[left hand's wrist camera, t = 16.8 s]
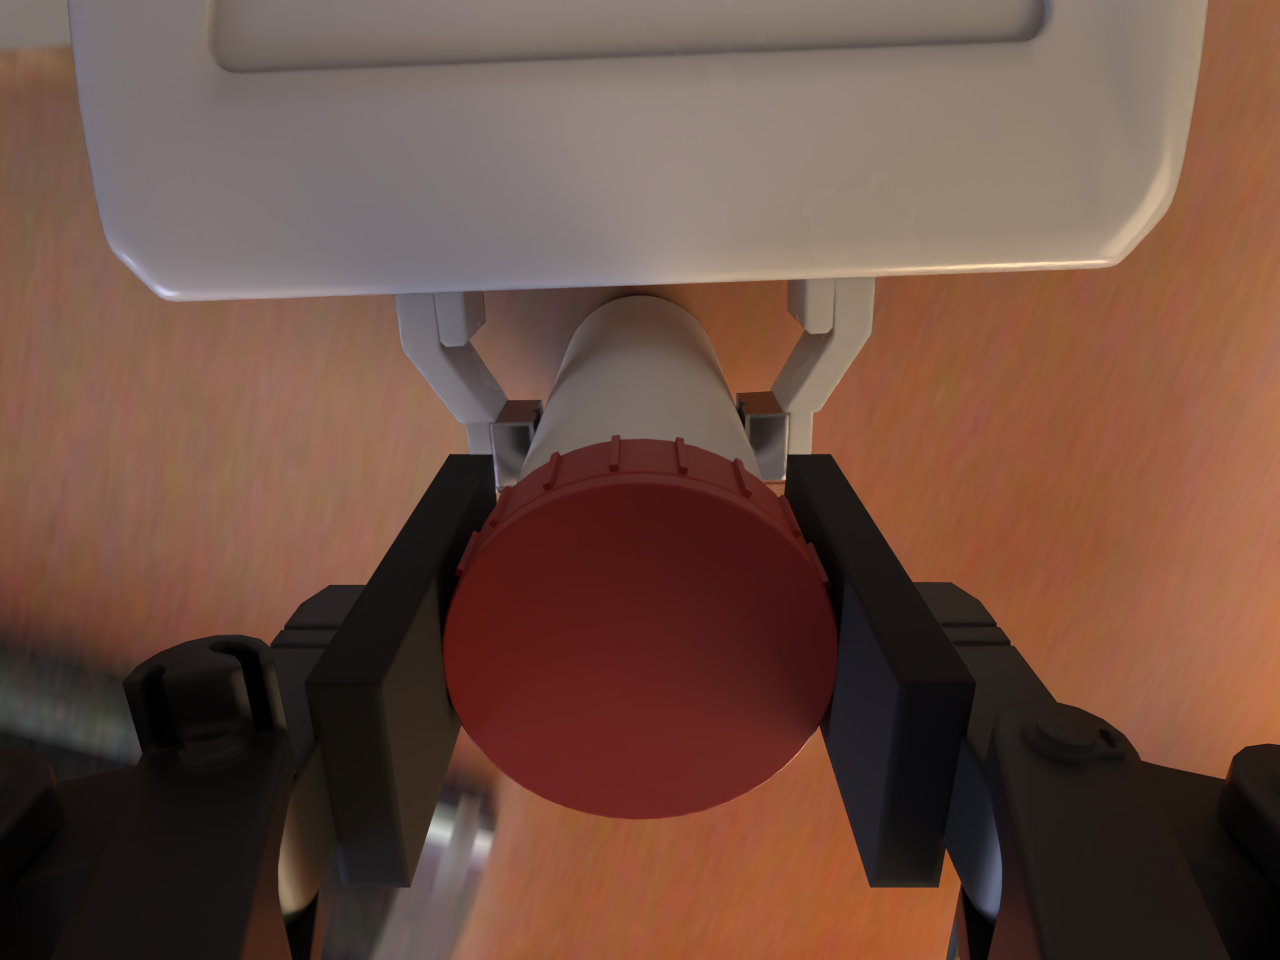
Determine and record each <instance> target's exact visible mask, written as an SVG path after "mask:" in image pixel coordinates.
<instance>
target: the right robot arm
mask: <svg viewBox="0 0 1280 960" xmlns="http://www.w3.org/2000/svg"><path fill="white" fill-rule="evenodd" d="M67 4H68V14H69V25H70V35H71V45H72V54H73V63H74V71H75V80H76V86H77V93H78V100H79V106H80V113H81V120H82V126H83V133H84V139H85V144H86V150H87V156H88V161H89V167H90V173H91V178H92V182H93V187H94V192H95V197H96V202H97V207H98V212H99V215H100V219H101V223H102V226H103V230H104V234H105V237H106V239H107V242H108V244H109V247H110V248H111V250H112V252H113V253H114V255H115V256H116V257H117V258H118V259H119V260H120V261H121V262H122V263H123V264H124V265H125V266H126V267H127V268H128V269H129V270H130V271H131V272H132V273H133V274H134V275H135V276H136V277H138V278H139V279H140V280H141V281H142V282H143V283H144V284H145V285H146V286H147V287H148V288H149V289H150V290H151V291H153V292H154V293H155V294H156V295H157V296H158V297H160V298H162V299H164V300H167V301H172V302H190V301H218V300H245V299H273V298H300V297H328V296H355V295H383V294H394V298H395V304H396V311H397V318H398V325H399V332H400V338H401V345H402V350H403V351H404V352H405V354H406V355H407V356H408V357H409V359H410V360H411V361H412V363H413V364H414V365H415V366H416V368H417V369H418V370H419V372H420V373H421V374H422V375H423V377H424V378H425V379H426V381H427V382H428V383H429V384H430V386H431V387H432V388H433V390H434V391H435V392H436V393H437V395H438V396H439V397H440V399H441V400H442V401H443V402H444V404H445V405H446V406H447V408H448V409H449V410H450V411H451V413H452V414H453V415H454V417H455V418H456V419H457V420H458V422H459V423H460V424H466V428H467V436H468V444H469V452H470V454H493V458H494V471H495V485H496V494H499V493H501V492H502V490H503V489H504V488H505V487H506V486H507V485H508V486H509V487H510V488H513V486H515V485H516V484H517V481H518V478H519V476H520V473H521V470H522V468H523V465H524V462H525V460H526V457H527V454H528V452H529V449H530V447H531V444H532V441H533V439H534V436H535V433H536V431H537V428H538V425H539V423H540V420H541V417H542V415H543V404H542V400H508V398H507V396H506V395H505V393H504V392H503V391H502V389H501V388H500V386H499V385H498V383H497V382H496V380H495V379H494V377H493V376H492V374H491V373H490V371H489V370H488V368H487V367H486V365H485V364H484V362H483V361H482V359H481V358H480V356H479V355H478V353H477V352H476V350H475V349H474V347H473V346H472V345H471V343H470V342H469V339H470V338H471V337H472V336H473V335H474V334H475V333H476V332H477V331H478V330H479V328H480V327H481V326H482V325H483V324H484V323H485V322H486V318H485V307H484V297H483V291H493V290H521V289H548V288H576V287H603V286H631V285H658V284H686V283H713V282H741V281H768V280H788V307H787V311H788V312H789V313H790V314H791V315H792V316H793V317H794V318H795V319H796V320H797V321H798V322H799V323H800V325H801V326H802V327H803V328H804V329H805V331H804V333H803V334H802V336H801V338H800V339H799V341H798V343H797V345H796V346H795V348H794V350H793V351H792V353H791V355H790V357H789V358H788V360H787V362H786V363H785V365H784V367H783V369H782V370H781V372H780V374H779V375H778V377H777V379H776V381H775V382H774V384H773V386H772V387H771V391H767V392H749V393H736V409H737V412H738V415H739V417H740V420H741V423H742V425H743V428H744V431H745V433H746V436H747V438H748V441H749V444H750V446H751V449H752V452H753V454H754V457H755V459H756V462H757V465H758V467H759V470H760V473H761V475H762V478H763V481H764V483H765V485H768V484H785V478H786V464H787V454H811V444H812V423H813V412H819V411H820V409H821V408H822V406H823V405H824V403H825V402H826V400H827V399H828V397H829V396H830V394H831V393H832V391H833V390H834V388H835V387H836V385H837V384H838V382H839V381H840V379H841V378H842V376H843V375H844V373H845V372H846V370H847V369H848V367H849V366H850V365H851V363H852V362H853V360H854V359H855V357H856V356H857V354H858V353H859V351H860V350H861V348H862V347H863V345H864V344H865V342H866V341H867V339H868V338H869V336H870V335H871V332H872V319H873V306H874V293H875V280H876V277H879V276H906V275H934V274H961V273H989V272H1016V271H1044V270H1070V269H1096V268H1108V267H1111V266H1115V265H1117V264H1118V263H1120V262H1121V261H1122V260H1123V259H1124V258H1125V257H1126V256H1127V255H1128V254H1129V253H1130V252H1131V251H1132V250H1133V249H1134V248H1135V247H1136V246H1137V245H1138V244H1139V243H1140V242H1141V241H1142V240H1143V239H1144V238H1145V236H1146V235H1147V234H1148V233H1149V232H1150V231H1151V230H1152V228H1153V227H1154V226H1155V225H1156V224H1157V223H1158V222H1159V220H1160V219H1161V218H1162V217H1163V216H1164V215H1165V213H1166V212H1167V210H1168V208H1169V206H1170V205H1171V203H1172V200H1173V197H1174V194H1175V191H1176V188H1177V186H1178V182H1179V177H1180V173H1181V169H1182V165H1183V160H1184V156H1185V152H1186V146H1187V141H1188V135H1189V130H1190V124H1191V119H1192V113H1193V108H1194V102H1195V96H1196V89H1197V83H1198V76H1199V70H1200V63H1201V57H1202V49H1203V41H1204V33H1205V25H1206V17H1207V9H1208V0H67Z"/></svg>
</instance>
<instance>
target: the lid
mask: <svg viewBox="0 0 1280 960" xmlns="http://www.w3.org/2000/svg"><path fill="white" fill-rule="evenodd" d="M455 575H456V576H459V577H460V578H459V581H458V583H457V585H456V588H455V590H454V592H453V595H452V598H451V601H450V604H449V607H448V610H447V613H446V616H445V623H444V629H443V635H442V654H443V664H444V673H445V682H446V687H447V690H448V693H449V697H450V700H451V703H452V706H453V708H454V710H455V712H456V714H457V716H458V718H459V720H460V722H461V724H462V726H463V727H464V729H465V730H466V732H467V733H468V735H469V736H470V738H471V740H472V741H473V743H474V744H475V745H476V746H477V747H478V748H479V749H480V751H481V752H482V753H483V754H484V755H485V756H486V757H487V759H488V760H489V761H491V762H492V763H493V764H494V765H495V766H496V767H497V768H498V769H499V770H501V771H502V772H503V773H504V774H505V775H507V776H508V777H509V778H511V779H512V780H514V781H515V782H517V783H518V784H519V785H521V786H522V787H524V788H526V789H527V790H529V791H531V792H533V793H535V794H537V795H539V796H540V797H542V798H544V799H547V800H549V801H552V802H554V803H557V804H559V805H561V806H564V807H567V808H570V809H574V810H577V811H581V812H584V813H588V814H593V815H599V816H604V817H610V818H621V819H635V820H636V819H662V818H670V817H677V816H684V815H688V814H692V813H697V812H701V811H705V810H708V809H711V808H714V807H717V806H719V805H722V804H725V803H728V802H730V801H732V800H734V799H736V798H738V797H740V796H743V795H745V794H747V793H749V792H750V791H752V790H754V789H755V788H757V787H758V786H760V785H762V784H763V783H765V782H766V781H768V780H769V779H770V778H772V777H773V776H774V775H776V774H777V773H778V772H779V771H781V770H782V769H783V768H784V767H786V766H787V765H788V763H789V762H790V761H791V760H792V759H793V758H794V757H795V756H796V755H797V754H798V753H799V752H800V751H801V750H802V749H803V747H804V746H805V745H806V743H807V742H808V741H809V740H810V738H811V737H812V736H813V734H814V733H815V731H816V729H817V728H818V726H819V724H820V722H821V720H822V719H823V717H824V715H825V713H826V710H827V708H828V705H829V703H830V700H831V697H832V695H833V692H834V686H835V678H836V670H837V660H838V650H839V634H838V625H837V621H836V617H835V613H834V609H833V605H832V602H831V600H830V598H829V595H828V593H827V591H826V589H828V588H831V584H830V581H829V579H828V576H827V574H826V572H825V570H824V567H823V565H822V563H821V561H820V559H819V556H818V554H817V552H816V550H815V547H814V545H813V543H812V542H811V543H808V544H806V542H805V539H804V537H803V535H802V532H801V530H800V528H799V525H798V523H797V521H796V518H795V516H794V514H793V511H792V509H791V507H790V504H789V502H788V500H787V498H786V497H785V496H784V495H782V496H780V497H779V498H778V497H777V496H776V494H775V493H774V492H773V491H772V490H770V489H769V488H768V487H767V486H766V485H765V484H764V483H763V482H762V481H761V480H759V479H758V478H757V477H756V476H754V475H753V474H751V473H750V472H748V471H747V470H745V468H744V465H743V462H742V461H741V460H740V459H738V458H735V460H734V461H733V462H732V461H730V460H728V459H726V458H724V457H722V456H720V455H718V454H716V453H713V452H710V451H707V450H704V449H702V448H699V447H696V446H692V445H688V444H685V443H684V438H680V437H676V440H675V442H674V441H667V440H656V439H621V440H620V435H613V436H612V439H611V441H609V442H602V443H597V444H593V445H590V446H586V447H583V448H579V449H576V450H573V451H571V452H568V453H566V454H564V455H561V456H560V454H559V452H558V451H557V452H555V453H553V454H551V457H550V461H549V462H547V463H546V464H544V465H542V466H541V467H539V468H537V469H536V470H534V471H532V472H531V473H530V474H528V475H527V476H526V477H525V478H523V479H522V480H521V481H520V482H518V483H517V484H516V485H515V486H513V488H510V487H509V486H508V485H507V486H506V487H505V488H504V489H503V490H502V492H501V495H500V497H499V500H498V502H497V505H496V507H495V508H494V509H493V511H492V512H491V514H490V515H489V516H488V518H487V519H486V521H485V523H484V525H483V527H482V529H481V531H480V533H478V532H476V531H473V533H472V536H471V538H470V540H469V542H468V545H467V547H466V549H465V551H464V554H463V556H462V558H461V560H460V563H459V565H458V567H457V569H456V572H455Z"/></svg>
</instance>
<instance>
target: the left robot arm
mask: <svg viewBox="0 0 1280 960" xmlns="http://www.w3.org/2000/svg"><path fill="white" fill-rule="evenodd" d="M784 496H785V497H786V498H787V500H788V502H789V504H790V507H791V509H792V511H793V514H794V516H795V518H796V521H797V523H798V525H799V528H800V530H801V532H802V535H803V537H804V539H805V542H806V544H808V543H811V542H812V543H813V545H814V547H815V550H816V552H817V554H818V556H819V559H820V561H821V563H822V565H823V567H824V570H825V572H826V574H827V576H828V579H829V581H830V584H831V588H828V589H826V591H827V593H828V595H829V598H830V600H831V602H832V605H833V609H834V613H835V617H836V621H837V625H838V634H839V650H838V660H837V670H836V678H835V686H834V692H833V695H832V697H831V700H830V703H829V705H828V708H827V710H826V713H825V715H824V717H823V719H822V720H821V722H820V724H819V726H820V729H821V732H822V736H823V739H824V742H825V745H826V748H827V751H828V755H829V758H830V761H831V764H832V767H833V771H834V774H835V777H836V780H837V783H838V786H839V790H840V793H841V796H842V799H843V802H844V806H845V809H846V812H847V815H848V818H849V821H850V825H851V828H852V831H853V834H854V837H855V841H856V844H857V847H858V850H859V853H860V856H861V860H862V863H863V866H864V869H865V872H866V876H867V879H868V882H869V885H870V887H939V882H940V876H941V871H942V866H943V860H944V855H945V849H947V851H948V853H949V856H950V858H951V860H952V862H953V865H954V867H955V869H956V871H957V874H958V876H959V878H960V881H961V887H960V892H959V897H958V902H957V907H956V912H955V917H954V922H953V927H952V932H951V937H950V942H949V947H948V952H947V959H946V960H958V959H960V960H1280V745H1276V744H1261V745H1254V746H1247V747H1245V748H1243V749H1242V750H1241V751H1240V752H1238V753H1237V754H1236V755H1235V756H1233V759H1232V762H1231V765H1230V768H1229V771H1228V774H1227V777H1226V779H1221V778H1216V777H1211V776H1206V775H1202V774H1197V773H1192V772H1187V771H1183V770H1178V769H1173V768H1168V767H1164V766H1159V765H1156V764H1152V763H1148V762H1145V761H1141V759H1140V757H1139V754H1138V752H1137V751H1136V750H1135V748H1134V747H1133V746H1132V744H1131V743H1130V742H1129V740H1128V739H1127V737H1126V736H1125V735H1124V734H1123V733H1121V732H1120V731H1119V730H1117V729H1116V728H1114V727H1113V726H1112V725H1110V724H1109V723H1108V722H1106V721H1105V720H1104V719H1102V718H1099V717H1097V716H1095V715H1093V714H1091V713H1089V712H1086V711H1084V710H1082V709H1080V708H1078V707H1074V706H1070V705H1066V704H1062V703H1058V702H1057V701H1056V700H1055V699H1054V697H1053V696H1052V695H1051V694H1050V692H1049V691H1048V690H1047V688H1046V687H1045V686H1044V684H1043V683H1042V682H1041V680H1040V679H1039V678H1038V677H1037V675H1036V674H1035V673H1034V671H1033V670H1032V669H1031V667H1030V666H1029V665H1028V663H1027V662H1026V661H1025V660H1024V658H1023V657H1022V656H1021V654H1020V653H1019V652H1018V650H1017V649H1016V648H1015V646H1011V644H1010V642H1011V641H1010V640H1009V639H1008V637H1007V636H1006V635H1005V633H1004V632H1003V631H1002V629H1001V628H1000V627H997V623H996V622H995V620H994V619H993V618H992V616H991V615H990V614H989V612H988V611H987V610H986V608H985V607H984V606H983V605H982V603H981V602H980V601H979V600H977V599H976V598H974V597H973V596H971V595H970V594H968V593H967V592H965V591H963V590H962V589H960V588H959V587H957V586H956V585H954V584H953V583H951V582H912V581H911V579H910V578H909V576H908V574H907V573H906V571H905V570H904V568H903V567H902V565H901V563H900V562H899V560H898V559H897V557H896V556H895V554H894V553H893V551H892V549H891V548H890V546H889V545H888V543H887V542H886V540H885V538H884V537H883V535H882V534H881V532H880V531H879V529H878V527H877V526H876V524H875V523H874V521H873V520H872V518H871V517H870V515H869V513H868V512H867V510H866V509H865V507H864V506H863V504H862V502H861V501H860V499H859V498H858V496H857V495H856V493H855V491H854V490H853V488H852V487H851V485H850V484H849V482H848V481H847V479H846V477H845V476H844V474H843V473H842V471H841V470H840V468H839V466H838V465H837V463H836V462H835V460H834V459H833V457H832V455H831V454H787V464H786V478H785V492H784ZM496 505H497V499H496V485H495V471H494V458H493V454H450V455H449V456H448V458H447V459H446V461H445V462H444V464H443V466H442V467H441V469H440V470H439V472H438V473H437V475H436V477H435V478H434V480H433V481H432V483H431V484H430V486H429V488H428V489H427V491H426V492H425V494H424V495H423V497H422V498H421V500H420V502H419V503H418V505H417V506H416V508H415V509H414V511H413V513H412V514H411V516H410V517H409V519H408V520H407V522H406V524H405V525H404V527H403V528H402V530H401V531H400V533H399V534H398V536H397V538H396V539H395V541H394V542H393V544H392V545H391V547H390V549H389V550H388V552H387V553H386V555H385V556H384V558H383V560H382V561H381V563H380V564H379V566H378V567H377V569H376V571H375V572H374V574H373V575H372V577H371V578H370V580H369V581H368V583H367V585H329V586H328V587H326V588H325V589H323V590H321V591H320V592H318V593H317V594H315V595H314V596H312V597H311V598H309V599H308V600H306V601H305V602H303V603H302V604H301V605H300V606H299V607H298V608H297V610H296V611H295V612H294V614H293V615H292V616H291V618H290V619H289V620H288V622H287V623H286V624H285V626H284V627H285V628H284V630H281V631H280V632H279V634H278V635H277V636H276V638H275V639H274V640H273V641H272V643H271V647H269V646H268V645H267V644H266V643H264V642H263V641H262V640H261V639H257V638H253V637H248V636H244V635H214V636H210V637H205V638H201V639H196V640H191V641H187V642H184V643H182V644H179V645H177V646H174V647H172V648H169V649H167V650H164V651H161V652H159V653H157V654H156V655H154V656H153V657H151V658H150V659H148V660H146V661H145V662H143V663H142V664H140V665H139V666H137V667H136V668H135V669H134V670H133V671H132V673H131V674H130V675H129V676H128V677H127V678H126V679H125V680H124V682H123V687H124V690H125V694H126V697H127V701H128V704H129V708H130V711H131V715H132V718H133V722H134V725H135V729H136V732H137V736H138V739H139V743H140V746H141V750H142V753H143V754H142V756H141V758H140V760H139V763H138V765H134V766H131V767H127V768H123V769H119V770H115V771H110V772H105V773H100V774H96V775H91V776H86V777H81V778H77V779H72V780H67V781H62V782H58V783H56V780H55V778H54V775H53V772H52V769H51V766H50V763H49V760H48V759H47V758H45V757H44V756H43V755H42V754H40V753H39V752H38V751H37V750H32V749H24V748H17V747H10V748H2V749H0V960H321V952H322V943H323V934H324V925H325V915H324V908H323V902H322V897H321V892H320V887H319V886H320V884H321V881H322V879H323V877H324V875H325V872H326V870H327V868H328V865H329V863H330V861H331V859H332V856H333V854H334V852H336V858H337V863H338V868H339V874H340V879H341V884H342V887H411V883H412V880H413V877H414V874H415V871H416V867H417V864H418V861H419V858H420V855H421V852H422V848H423V845H424V842H425V839H426V836H427V832H428V829H429V826H430V823H431V820H432V817H433V813H434V810H435V807H436V804H437V801H438V797H439V794H440V791H441V788H442V785H443V782H444V778H445V775H446V772H447V769H448V766H449V762H450V759H451V756H452V753H453V750H454V747H455V743H456V740H457V737H458V734H459V731H460V727H461V722H460V720H459V718H458V716H457V714H456V712H455V710H454V708H453V706H452V703H451V700H450V697H449V693H448V690H447V687H446V682H445V673H444V664H443V654H442V635H443V629H444V623H445V616H446V613H447V610H448V607H449V604H450V601H451V598H452V595H453V592H454V590H455V588H456V585H457V583H458V581H459V578H460V577H459V576H456V575H455V572H456V569H457V567H458V565H459V563H460V560H461V558H462V556H463V554H464V551H465V549H466V547H467V545H468V542H469V540H470V538H471V536H472V533H473V531H476V532H478V533H480V531H481V529H482V527H483V525H484V523H485V521H486V519H487V518H488V516H489V515H490V514H491V512H492V511H493V509H494V508H495V507H496Z"/></svg>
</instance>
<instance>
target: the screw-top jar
mask: <svg viewBox="0 0 1280 960" xmlns="http://www.w3.org/2000/svg"><path fill="white" fill-rule="evenodd" d="M613 435H620V440H621V439H656V440H667V441H674V442H675V440H676V437H680V438H684V443H685V444H688V445H692V446H696V447H699V448H702V449H704V450H707V451H710V452H713V453H716V454H718V455H720V456H722V457H724V458H726V459H728V460H730V461H732V462H733V461H734V460H735V458H738V459H740V460H741V461H742V462H743V465H744V468H745V470H747V471H748V472H750V473H751V474H753V475H754V476H756V477H757V478H758V479H759V480H761V481H762V482H763V483H764V481H763V478H762V475H761V473H760V470H759V467H758V465H757V462H756V459H755V457H754V454H753V452H752V449H751V446H750V444H749V441H748V438H747V436H746V433H745V431H744V428H743V425H742V423H741V420H740V417H739V415H738V412H737V409H736V407H735V404H734V402H733V399H732V396H731V394H730V391H729V388H728V386H727V383H726V380H725V378H724V375H723V373H722V370H721V367H720V365H719V362H718V359H717V357H716V354H715V351H714V349H713V346H712V344H711V341H710V339H709V337H708V335H707V333H706V332H705V330H704V329H703V327H702V326H701V325H700V323H699V322H698V321H697V320H696V319H695V318H694V317H693V316H692V315H691V314H690V313H689V312H687V311H686V310H685V309H683V308H682V307H680V306H678V305H676V304H674V303H673V302H670V301H668V300H665V299H662V298H657V297H653V296H642V295H641V296H629V297H623V298H619V299H616V300H613V301H611V302H609V303H607V304H604V305H602V306H601V307H599V308H598V309H596V310H595V311H593V312H592V313H591V314H590V315H589V316H588V317H587V318H586V319H585V320H584V321H583V322H582V323H581V324H580V326H579V327H578V329H577V330H576V332H575V333H574V335H573V337H572V339H571V341H570V343H569V346H568V349H567V351H566V354H565V357H564V359H563V362H562V365H561V367H560V370H559V373H558V375H557V378H556V380H555V383H554V386H553V388H552V391H551V394H550V396H549V399H548V402H547V404H546V407H545V410H544V412H543V415H542V417H541V420H540V423H539V425H538V428H537V431H536V433H535V436H534V439H533V441H532V444H531V447H530V449H529V452H528V454H527V457H526V460H525V462H524V465H523V468H522V470H521V473H520V476H519V478H518V481H517V483H518V482H520V481H521V480H522V479H523V478H525V477H526V476H527V475H528V474H530V473H531V472H532V471H534V470H536V469H537V468H539V467H541V466H542V465H544V464H546V463H547V462H549V461H550V457H551V454H553V453H555V452H557V451H558V452H559V454H560V456H561V455H564V454H566V453H568V452H571V451H573V450H576V449H579V448H583V447H586V446H590V445H593V444H597V443H602V442H609V441H611V439H612V436H613ZM764 484H765V483H764Z"/></svg>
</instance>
